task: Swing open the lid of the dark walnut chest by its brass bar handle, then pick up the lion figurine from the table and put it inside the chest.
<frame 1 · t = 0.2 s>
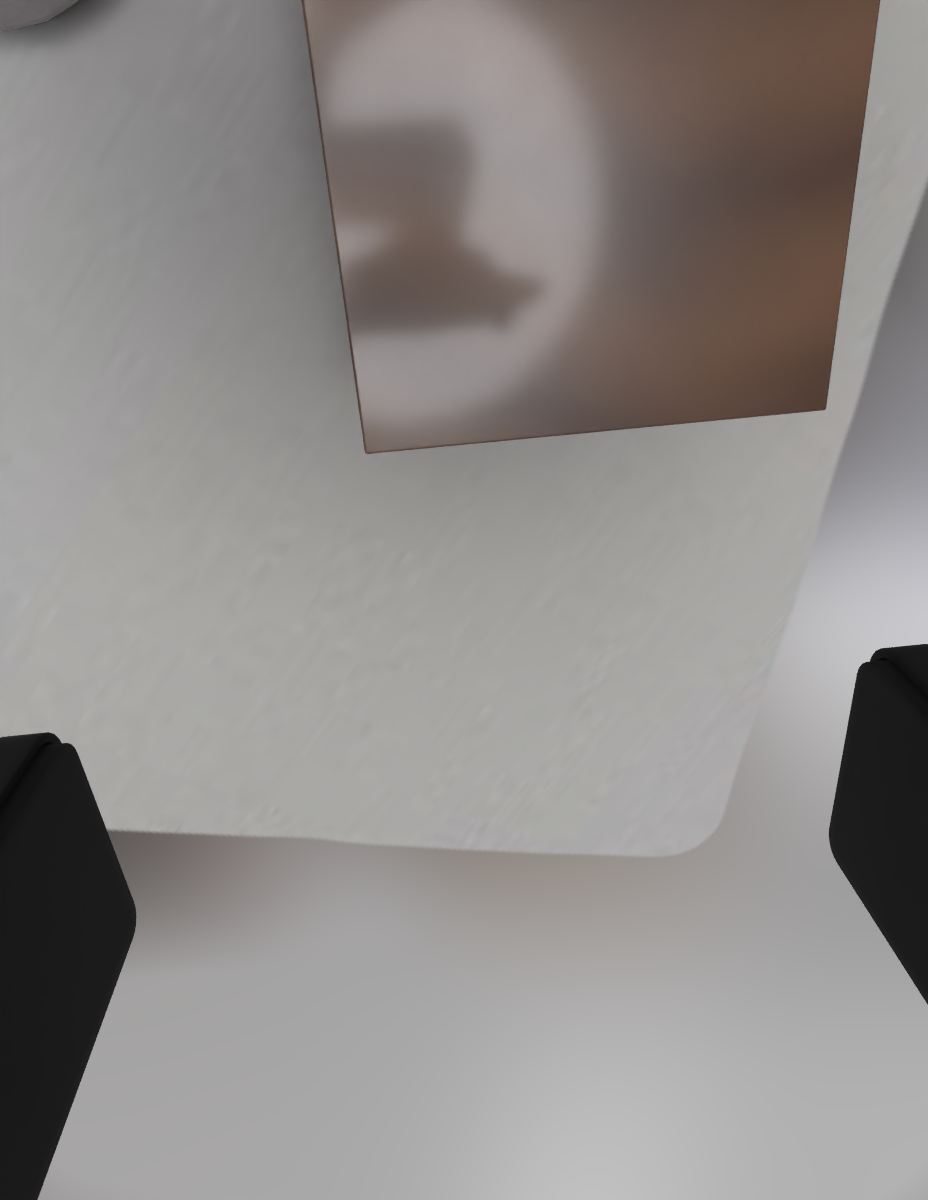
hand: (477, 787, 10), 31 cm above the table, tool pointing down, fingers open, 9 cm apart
lid: (609, 161, 24), point 12 cm above the table, hinge at 0.0°
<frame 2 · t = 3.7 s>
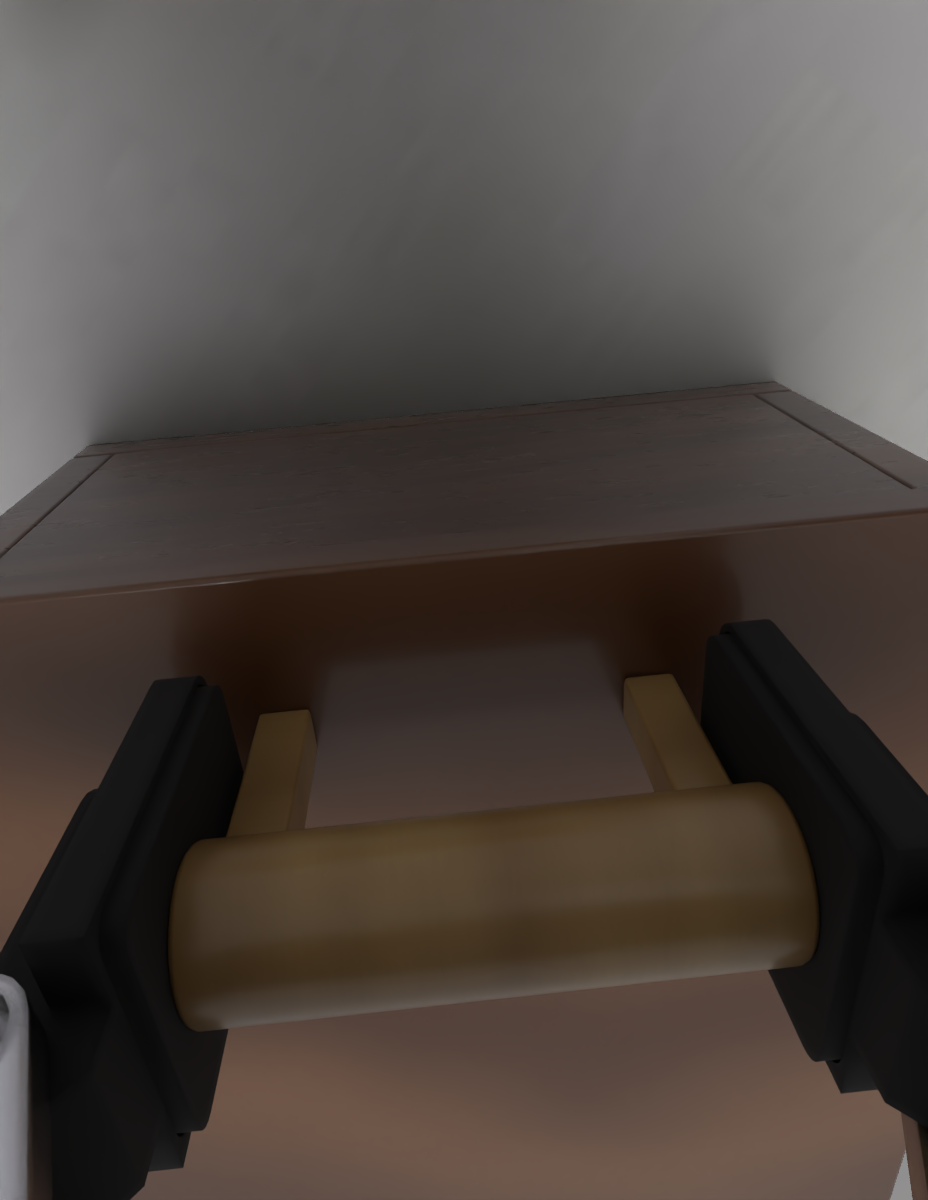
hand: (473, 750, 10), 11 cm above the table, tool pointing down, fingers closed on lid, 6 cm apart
lid: (506, 1103, 12), point 12 cm above the table, hinge at 0.0°, touching gripper
chest: (461, 692, 23), on the table
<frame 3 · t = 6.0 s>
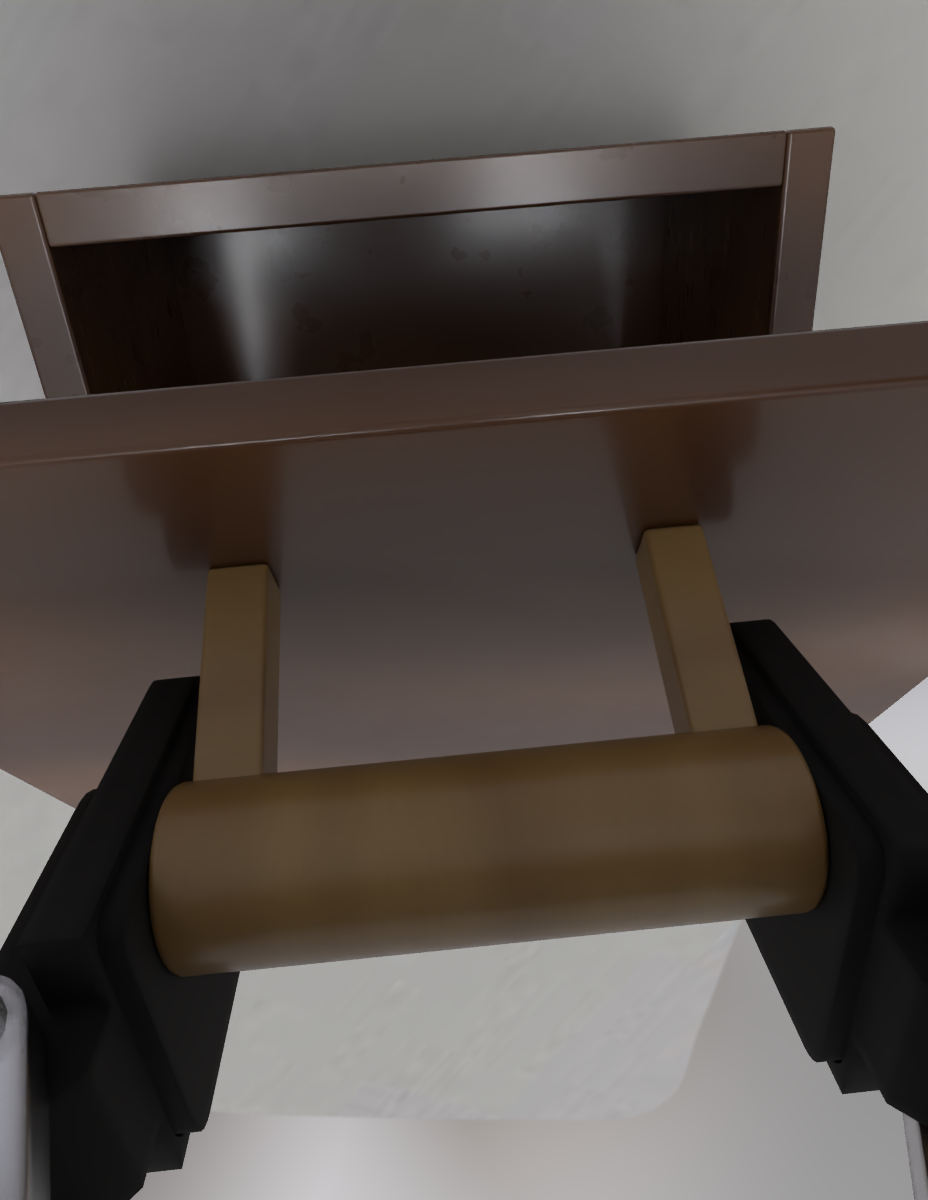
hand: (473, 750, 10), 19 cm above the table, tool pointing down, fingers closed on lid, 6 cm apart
lid: (477, 824, 14), point 17 cm above the table, hinge at 35.3°, touching gripper
chest: (437, 442, 28), on the table
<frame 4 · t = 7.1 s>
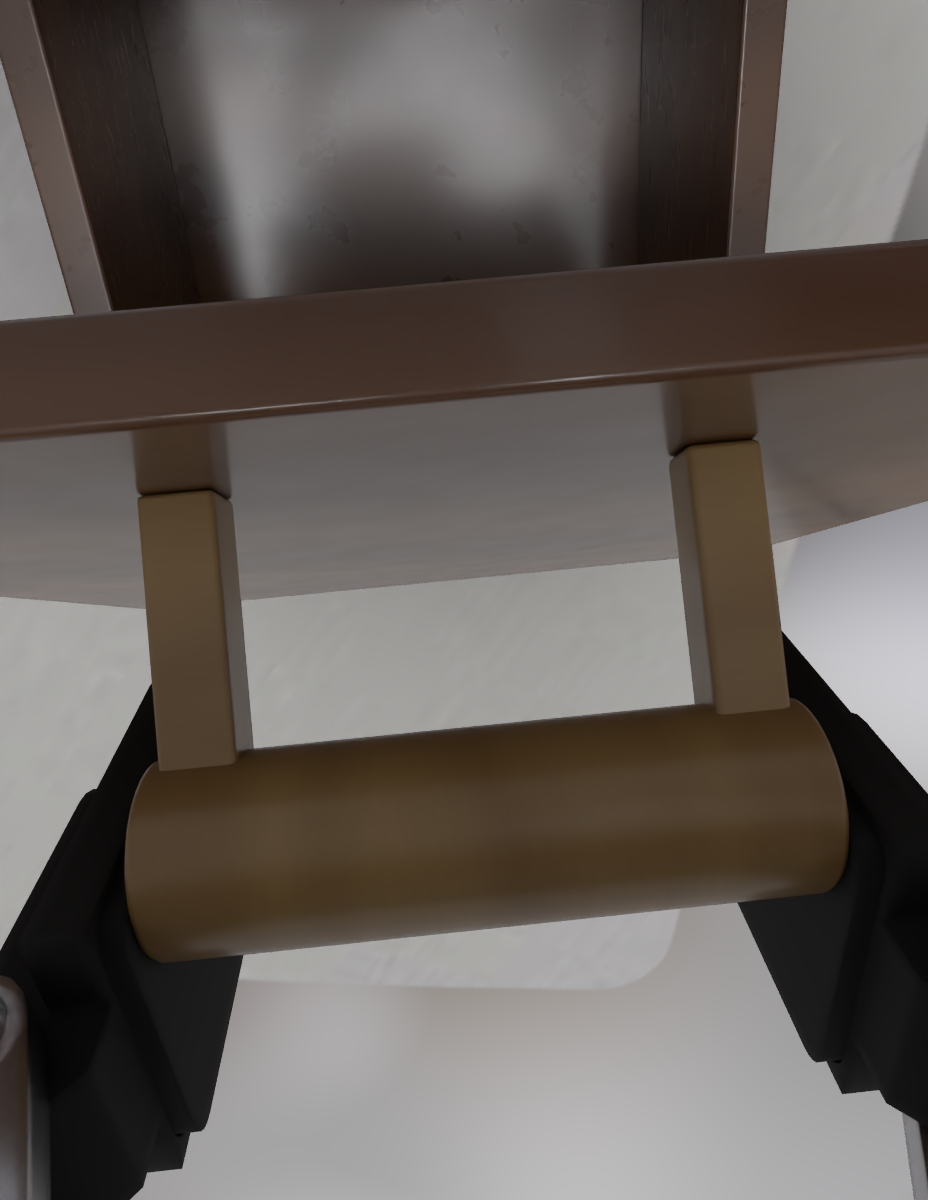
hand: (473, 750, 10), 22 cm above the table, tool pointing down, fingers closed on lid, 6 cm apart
lid: (460, 644, 14), point 19 cm above the table, hinge at 60.3°, touching gripper
chest: (415, 230, 27), on the table
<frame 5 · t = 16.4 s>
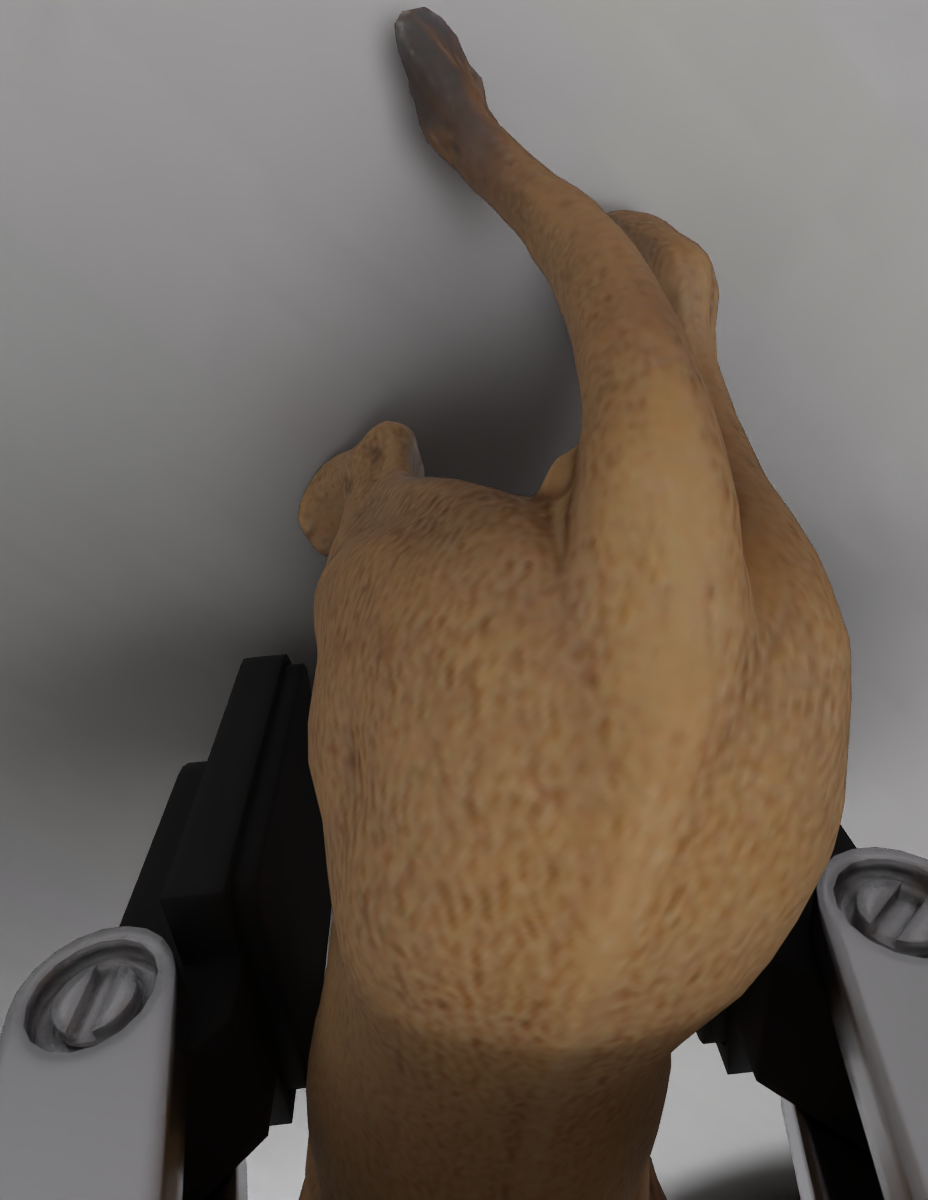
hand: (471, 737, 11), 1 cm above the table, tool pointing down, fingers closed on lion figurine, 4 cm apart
lion figurine: (501, 698, 11), on the table, touching gripper
when the fingers open (7 cm above the table, at t = 23.2 s): lion figurine stays where it is, resting on chest.
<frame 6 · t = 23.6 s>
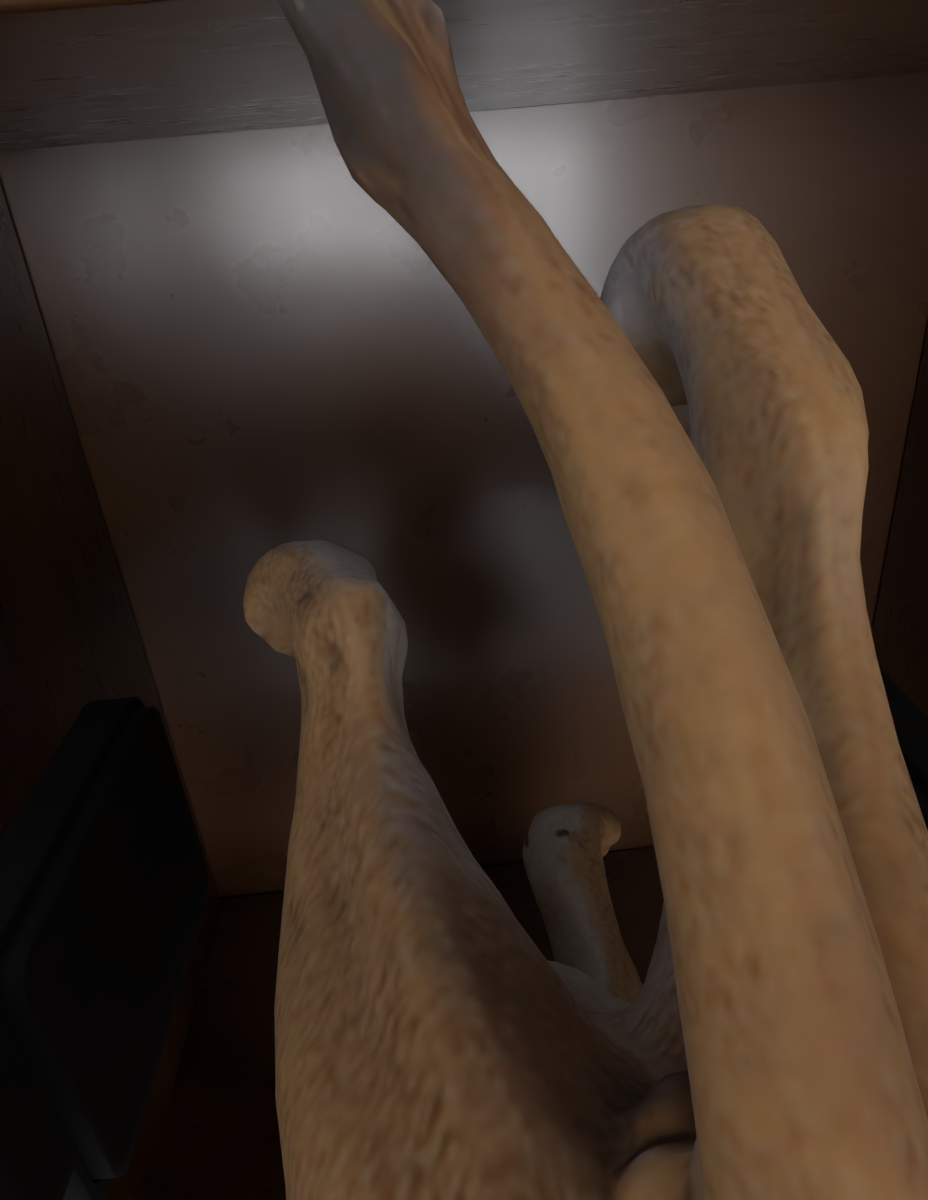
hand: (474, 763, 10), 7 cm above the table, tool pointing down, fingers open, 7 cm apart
lion figurine: (518, 715, 10), point 7 cm above the table, touching chest
chest: (510, 549, 16), on the table
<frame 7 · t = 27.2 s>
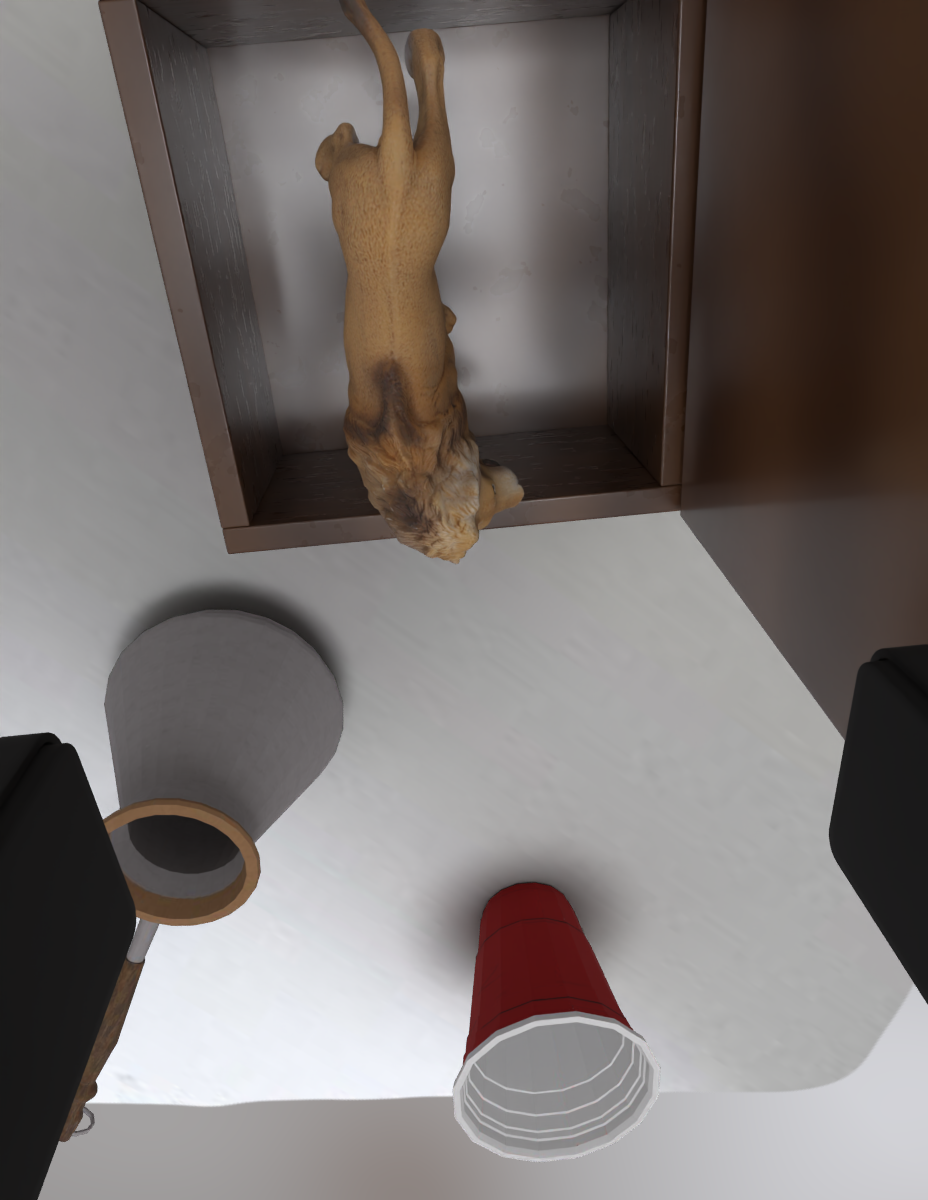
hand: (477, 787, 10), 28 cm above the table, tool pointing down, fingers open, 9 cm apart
plastic cup: (526, 908, 51), on the table
coffee pot: (209, 750, 44), on the table
lion figurine: (408, 247, 27), point 7 cm above the table, touching chest
chest: (428, 255, 33), on the table
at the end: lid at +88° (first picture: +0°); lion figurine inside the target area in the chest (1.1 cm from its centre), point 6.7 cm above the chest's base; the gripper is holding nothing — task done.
